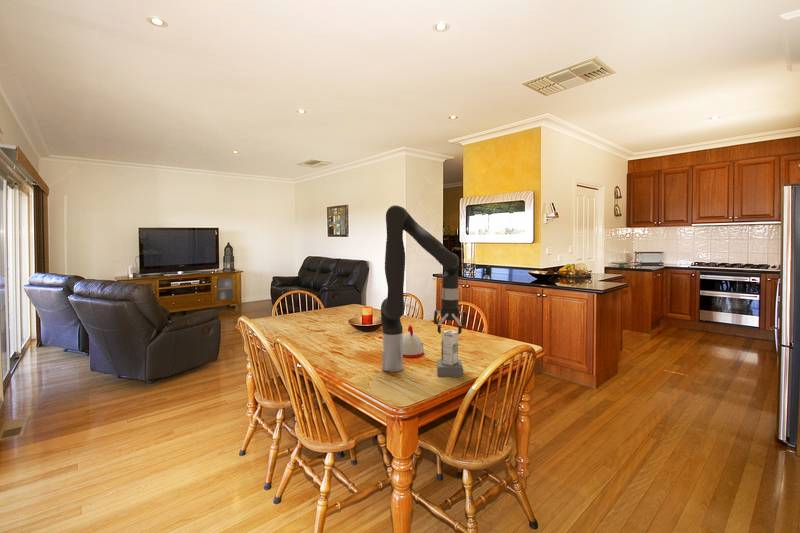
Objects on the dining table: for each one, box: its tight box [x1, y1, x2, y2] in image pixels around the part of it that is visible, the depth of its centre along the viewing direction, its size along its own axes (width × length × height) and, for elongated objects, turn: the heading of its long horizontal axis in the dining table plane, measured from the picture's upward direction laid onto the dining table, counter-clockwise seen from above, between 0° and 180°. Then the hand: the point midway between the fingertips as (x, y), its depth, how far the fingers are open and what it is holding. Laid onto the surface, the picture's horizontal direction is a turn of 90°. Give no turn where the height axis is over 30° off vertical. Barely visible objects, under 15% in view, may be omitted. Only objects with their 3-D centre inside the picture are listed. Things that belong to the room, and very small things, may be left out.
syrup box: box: [440, 329, 459, 366], centre depth 176 cm, size 6×6×14 cm
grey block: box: [436, 358, 464, 378], centre depth 177 cm, size 11×11×4 cm
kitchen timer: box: [403, 325, 425, 359], centre depth 204 cm, size 14×14×15 cm
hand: (449, 333), depth 175 cm, fingers open, 8 cm apart
